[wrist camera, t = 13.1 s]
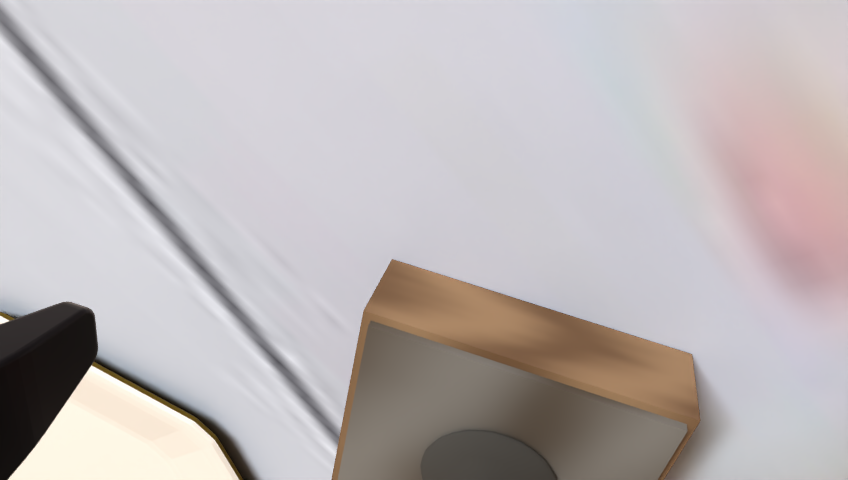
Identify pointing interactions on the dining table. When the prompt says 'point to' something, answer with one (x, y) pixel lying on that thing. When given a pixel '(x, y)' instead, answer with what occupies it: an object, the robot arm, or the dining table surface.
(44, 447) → the plate
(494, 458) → the sundae
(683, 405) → the block
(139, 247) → the dining table surface
